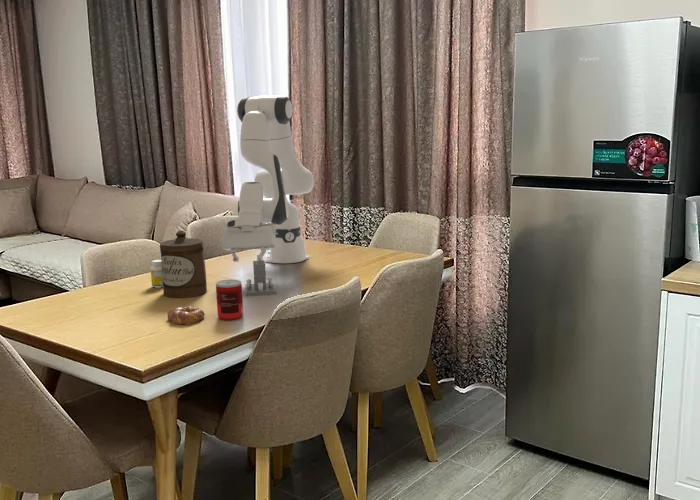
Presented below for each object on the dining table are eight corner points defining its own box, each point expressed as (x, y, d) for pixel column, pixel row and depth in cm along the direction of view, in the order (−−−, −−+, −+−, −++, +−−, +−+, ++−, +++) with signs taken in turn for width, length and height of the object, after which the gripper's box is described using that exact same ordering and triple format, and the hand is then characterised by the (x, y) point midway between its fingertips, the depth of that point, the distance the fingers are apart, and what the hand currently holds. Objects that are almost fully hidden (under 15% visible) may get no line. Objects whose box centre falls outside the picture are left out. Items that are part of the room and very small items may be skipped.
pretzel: (206, 324, 202) (205, 312, 201) (168, 328, 199) (167, 315, 198) (203, 313, 213) (202, 302, 213) (167, 317, 210) (166, 305, 210)
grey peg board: (245, 286, 245) (244, 276, 244) (273, 285, 247) (272, 274, 246) (246, 295, 233) (245, 284, 232) (275, 294, 234) (275, 282, 233)
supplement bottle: (165, 288, 246) (163, 262, 244) (150, 288, 246) (148, 262, 244) (168, 284, 251) (166, 259, 249) (154, 285, 251) (152, 259, 249)
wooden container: (154, 296, 235) (149, 233, 230) (179, 286, 248) (175, 226, 244) (191, 299, 230) (187, 235, 225) (215, 289, 243) (211, 228, 239)
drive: (253, 285, 243) (252, 260, 241) (265, 284, 243) (264, 260, 242) (254, 290, 236) (253, 264, 234) (266, 289, 236) (265, 264, 235)
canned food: (233, 312, 213) (231, 278, 211) (248, 317, 207) (246, 282, 205) (212, 317, 208) (210, 282, 206) (227, 322, 202) (225, 286, 200)
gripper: (279, 224, 248) (277, 261, 245) (228, 228, 254) (226, 264, 251) (272, 219, 242) (270, 257, 239) (220, 223, 248) (218, 260, 245)
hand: (247, 261), depth 245 cm, fingers open, 8 cm apart
